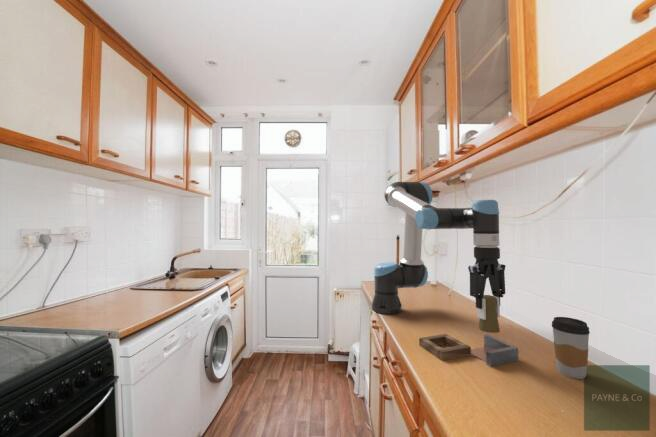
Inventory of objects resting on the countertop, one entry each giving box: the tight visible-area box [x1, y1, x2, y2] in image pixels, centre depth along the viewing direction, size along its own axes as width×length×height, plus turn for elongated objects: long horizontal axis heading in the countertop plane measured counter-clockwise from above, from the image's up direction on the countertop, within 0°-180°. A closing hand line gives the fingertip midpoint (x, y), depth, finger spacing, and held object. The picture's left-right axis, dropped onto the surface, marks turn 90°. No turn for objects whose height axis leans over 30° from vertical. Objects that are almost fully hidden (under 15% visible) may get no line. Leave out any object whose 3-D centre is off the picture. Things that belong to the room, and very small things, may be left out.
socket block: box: [418, 333, 472, 361], centre depth 95 cm, size 12×12×3 cm
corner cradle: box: [471, 334, 520, 368], centre depth 91 cm, size 12×12×4 cm
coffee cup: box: [551, 316, 590, 380], centre depth 80 cm, size 8×8×15 cm
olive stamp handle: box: [478, 294, 501, 334], centre depth 91 cm, size 6×6×11 cm
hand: (488, 317), depth 91 cm, fingers closed on olive stamp handle, 5 cm apart
